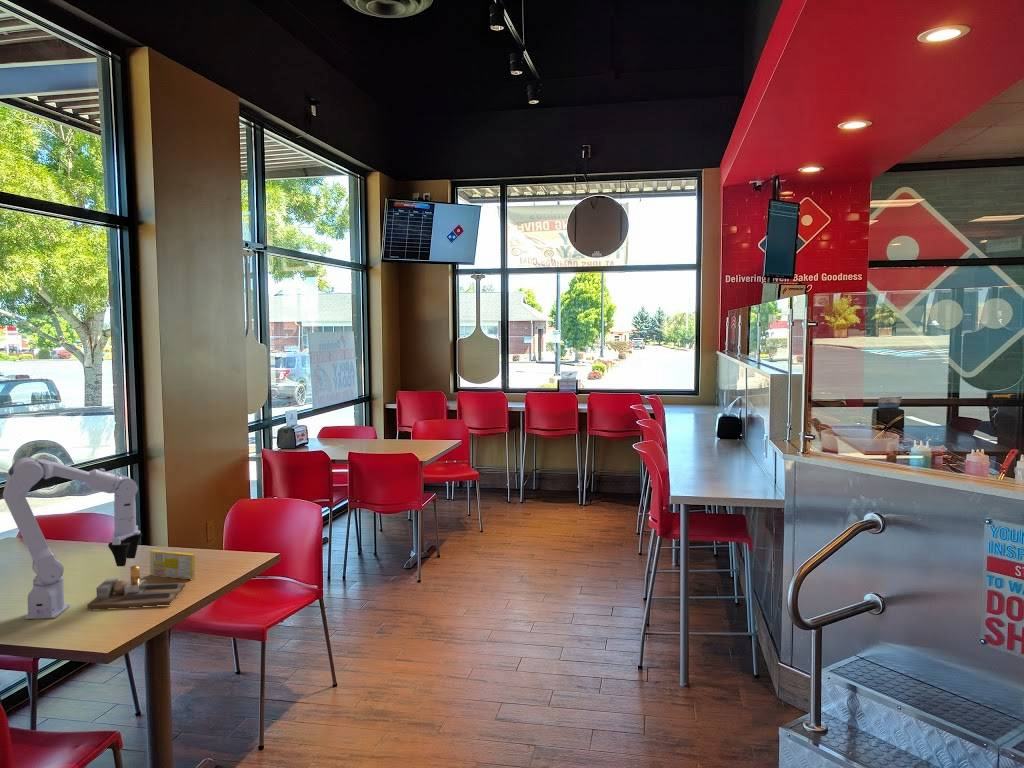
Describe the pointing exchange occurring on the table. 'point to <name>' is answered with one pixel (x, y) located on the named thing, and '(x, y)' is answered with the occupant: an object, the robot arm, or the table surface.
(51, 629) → the table surface
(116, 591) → the tan oval solid
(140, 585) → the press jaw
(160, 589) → the press bench
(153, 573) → the candy box
